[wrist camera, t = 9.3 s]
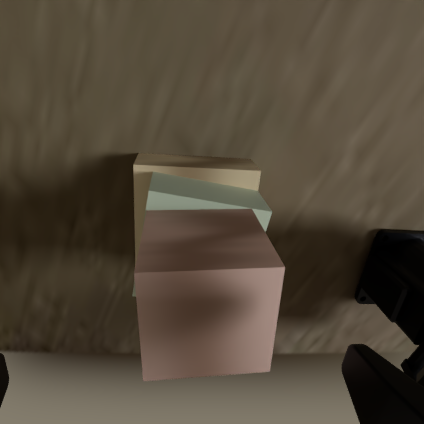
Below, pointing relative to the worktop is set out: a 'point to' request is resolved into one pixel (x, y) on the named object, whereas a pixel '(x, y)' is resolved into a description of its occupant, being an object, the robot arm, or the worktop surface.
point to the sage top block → (202, 197)
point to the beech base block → (190, 168)
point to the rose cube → (206, 293)
